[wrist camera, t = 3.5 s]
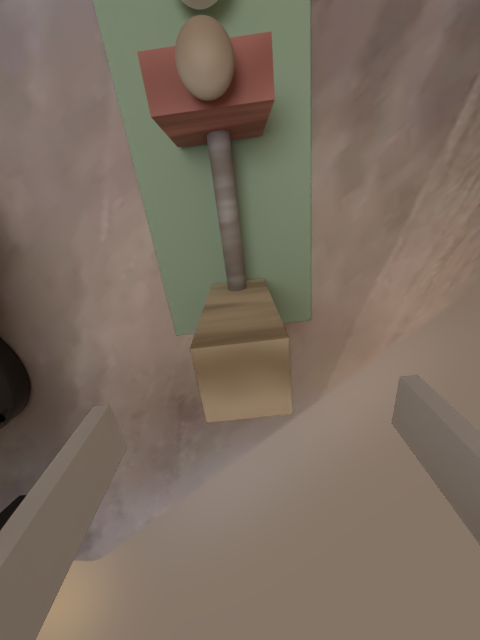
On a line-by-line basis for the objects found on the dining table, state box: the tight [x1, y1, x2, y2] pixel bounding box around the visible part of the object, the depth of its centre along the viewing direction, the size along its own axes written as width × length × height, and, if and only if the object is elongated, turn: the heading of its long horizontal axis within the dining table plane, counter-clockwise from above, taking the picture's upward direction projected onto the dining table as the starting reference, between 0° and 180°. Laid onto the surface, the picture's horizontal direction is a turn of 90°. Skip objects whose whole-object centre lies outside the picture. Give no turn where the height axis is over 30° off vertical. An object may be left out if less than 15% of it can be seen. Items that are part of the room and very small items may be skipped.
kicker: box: [137, 15, 292, 423], centre depth 16 cm, size 18×6×12 cm, turn 7°
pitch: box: [93, 0, 311, 336], centre depth 19 cm, size 32×14×1 cm, turn 7°
